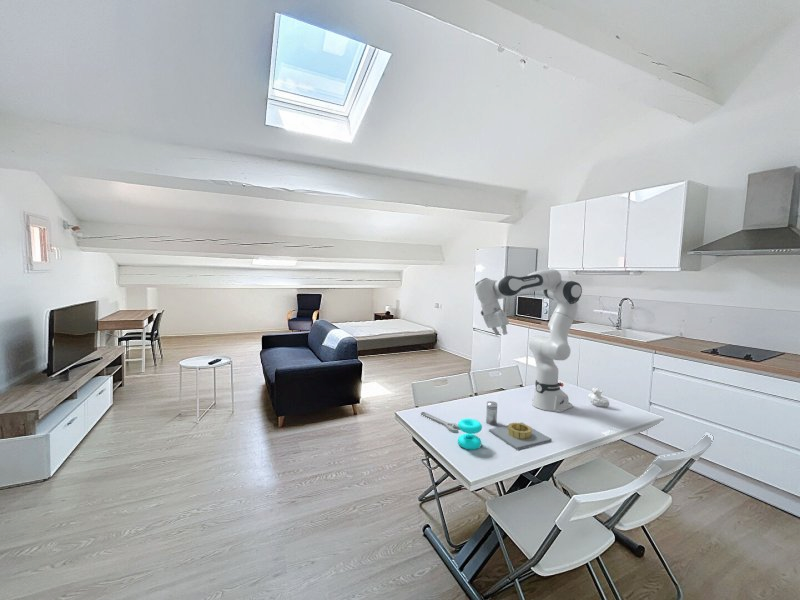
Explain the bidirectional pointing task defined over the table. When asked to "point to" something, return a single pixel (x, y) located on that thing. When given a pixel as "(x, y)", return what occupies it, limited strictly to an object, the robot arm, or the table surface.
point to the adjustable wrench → (442, 422)
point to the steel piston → (491, 413)
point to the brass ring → (519, 431)
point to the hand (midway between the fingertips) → (501, 334)
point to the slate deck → (519, 443)
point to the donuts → (469, 434)
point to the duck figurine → (598, 398)
